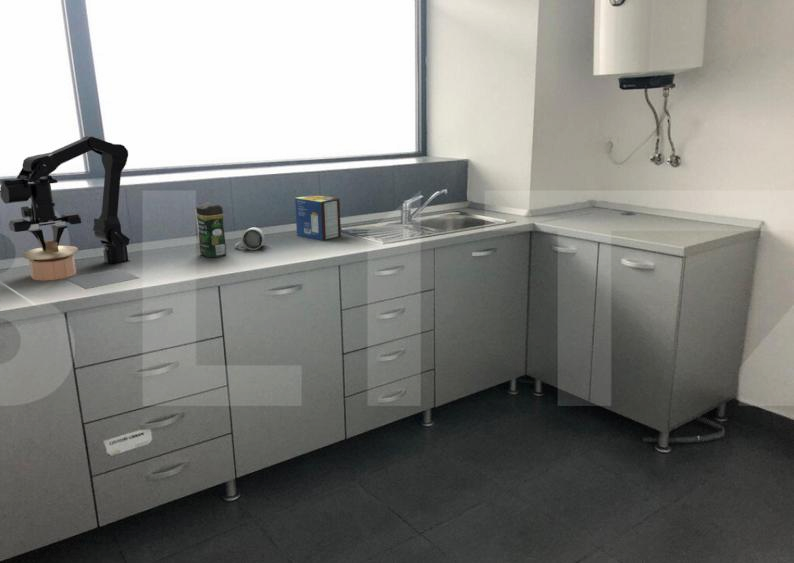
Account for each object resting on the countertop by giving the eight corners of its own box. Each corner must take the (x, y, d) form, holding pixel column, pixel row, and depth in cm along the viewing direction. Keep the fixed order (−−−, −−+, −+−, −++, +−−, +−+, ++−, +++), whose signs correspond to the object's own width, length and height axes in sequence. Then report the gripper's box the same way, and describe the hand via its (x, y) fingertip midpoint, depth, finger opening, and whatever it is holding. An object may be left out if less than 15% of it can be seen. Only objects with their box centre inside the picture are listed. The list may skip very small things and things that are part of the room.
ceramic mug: (265, 244, 239) (263, 224, 237) (263, 249, 231) (262, 229, 229) (236, 246, 238) (235, 226, 236) (234, 251, 230) (232, 230, 228)
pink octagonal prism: (67, 269, 205) (64, 251, 203) (81, 276, 197) (78, 257, 195) (27, 276, 197) (23, 257, 195) (39, 284, 189) (36, 264, 187)
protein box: (315, 231, 262) (313, 194, 258) (341, 236, 253) (340, 198, 248) (296, 235, 255) (294, 197, 250) (322, 241, 245) (320, 201, 241)
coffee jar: (196, 254, 224) (192, 202, 219) (217, 251, 229) (213, 200, 224) (209, 259, 217) (204, 205, 212) (230, 255, 222) (225, 203, 217)
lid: (67, 246, 205) (66, 234, 204) (85, 253, 195) (83, 241, 194) (16, 254, 195) (14, 242, 194) (32, 262, 185) (30, 249, 184)
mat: (118, 270, 204) (118, 268, 204) (140, 279, 193) (139, 277, 193) (65, 279, 193) (65, 278, 193) (85, 290, 182) (85, 288, 182)
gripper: (65, 193, 202) (72, 240, 206) (-1, 200, 189) (8, 250, 194) (78, 196, 195) (85, 246, 199) (10, 204, 182) (20, 256, 186)
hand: (50, 249), depth 195 cm, fingers closed on lid, 3 cm apart
